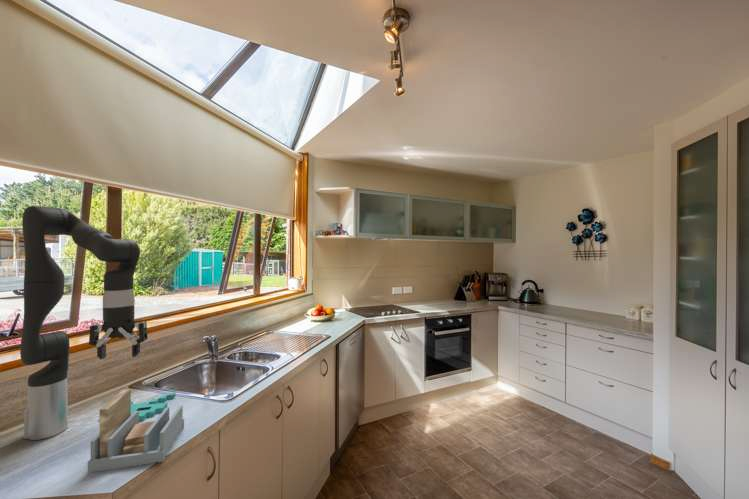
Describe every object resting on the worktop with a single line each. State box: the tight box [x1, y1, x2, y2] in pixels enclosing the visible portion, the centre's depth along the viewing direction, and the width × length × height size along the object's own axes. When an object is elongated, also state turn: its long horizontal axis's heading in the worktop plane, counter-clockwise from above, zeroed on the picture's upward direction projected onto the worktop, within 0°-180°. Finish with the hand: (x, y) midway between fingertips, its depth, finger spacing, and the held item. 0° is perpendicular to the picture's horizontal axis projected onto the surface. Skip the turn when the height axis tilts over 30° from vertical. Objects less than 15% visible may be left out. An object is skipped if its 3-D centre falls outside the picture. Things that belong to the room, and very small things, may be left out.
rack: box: [87, 405, 185, 474], centre depth 97 cm, size 18×18×8 cm
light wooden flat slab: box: [98, 388, 132, 458], centre depth 96 cm, size 2×13×16 cm, turn 14°
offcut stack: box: [122, 420, 155, 455], centre depth 98 cm, size 6×12×5 cm, turn 21°
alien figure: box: [98, 391, 176, 422], centre depth 119 cm, size 20×2×20 cm
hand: (119, 357), depth 96 cm, fingers open, 8 cm apart
